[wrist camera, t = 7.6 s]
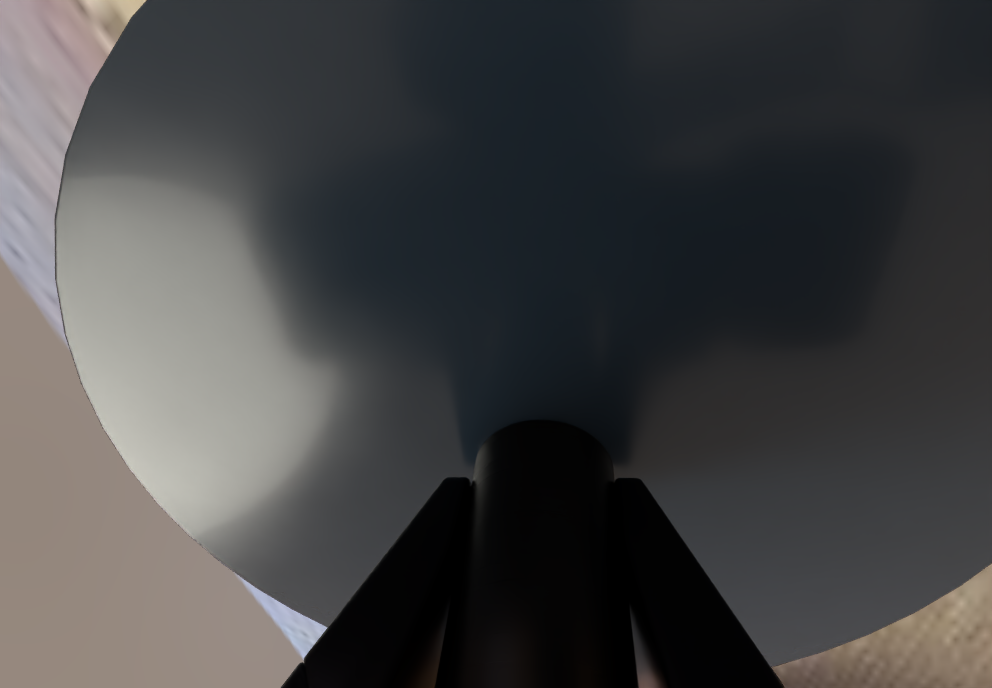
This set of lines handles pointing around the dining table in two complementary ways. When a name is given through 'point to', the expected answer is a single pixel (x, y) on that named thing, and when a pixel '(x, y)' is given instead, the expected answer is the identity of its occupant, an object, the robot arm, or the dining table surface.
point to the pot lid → (550, 302)
